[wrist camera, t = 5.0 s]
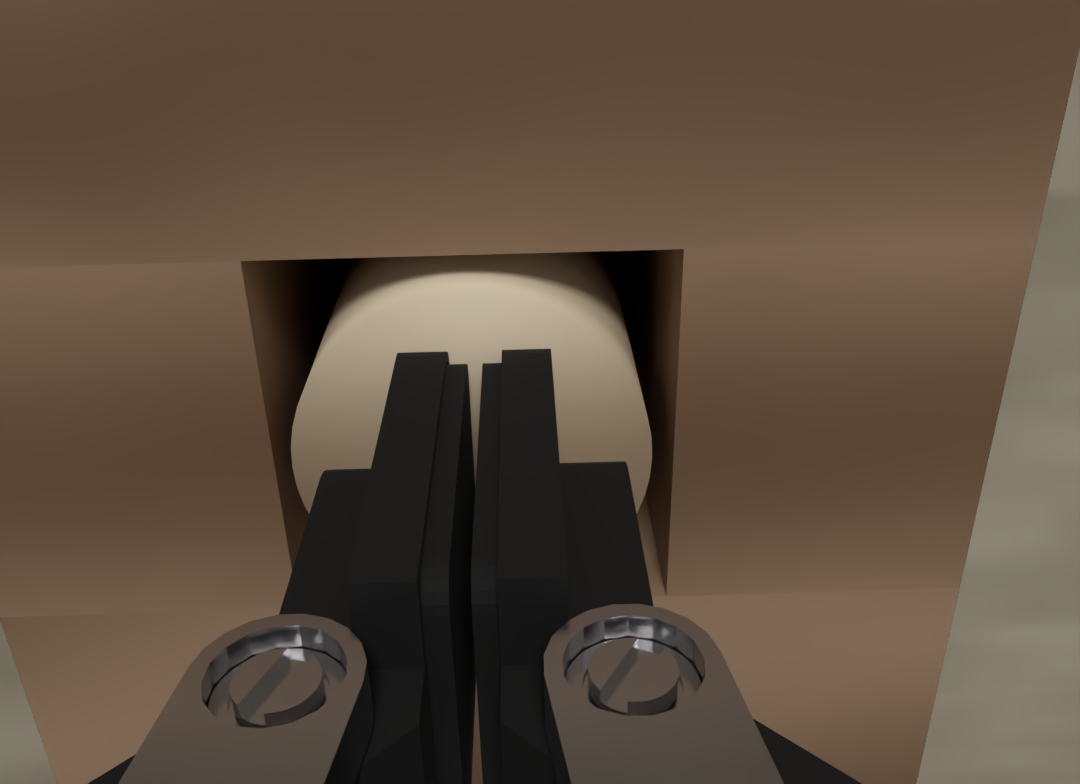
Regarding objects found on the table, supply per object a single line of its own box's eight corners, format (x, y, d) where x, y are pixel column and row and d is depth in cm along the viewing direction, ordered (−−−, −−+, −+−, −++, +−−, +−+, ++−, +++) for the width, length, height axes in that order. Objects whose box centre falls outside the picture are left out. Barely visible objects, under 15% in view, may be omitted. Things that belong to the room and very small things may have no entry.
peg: (345, 149, 16) (265, 301, 10) (609, 142, 16) (659, 290, 11) (371, 383, 17) (315, 608, 12) (606, 376, 18) (646, 598, 12)
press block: (8, -229, 14) (-308, -271, 8) (908, -247, 14) (1157, -300, 9) (290, 1018, 27) (237, 1307, 22) (747, 1001, 27) (805, 1283, 22)
